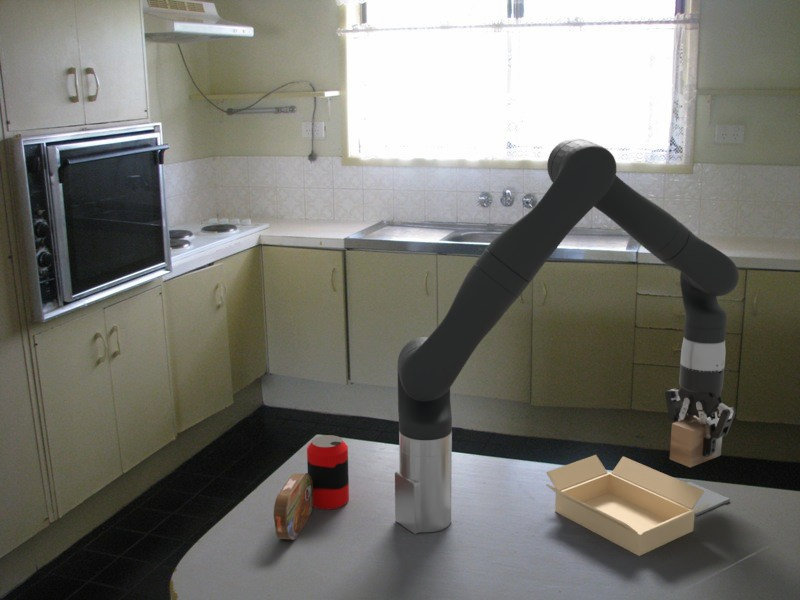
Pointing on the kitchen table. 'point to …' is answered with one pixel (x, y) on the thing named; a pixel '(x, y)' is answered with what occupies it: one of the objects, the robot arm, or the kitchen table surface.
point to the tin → (293, 506)
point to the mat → (708, 500)
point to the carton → (625, 502)
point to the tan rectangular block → (690, 442)
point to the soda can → (328, 471)
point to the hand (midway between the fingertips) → (695, 450)
